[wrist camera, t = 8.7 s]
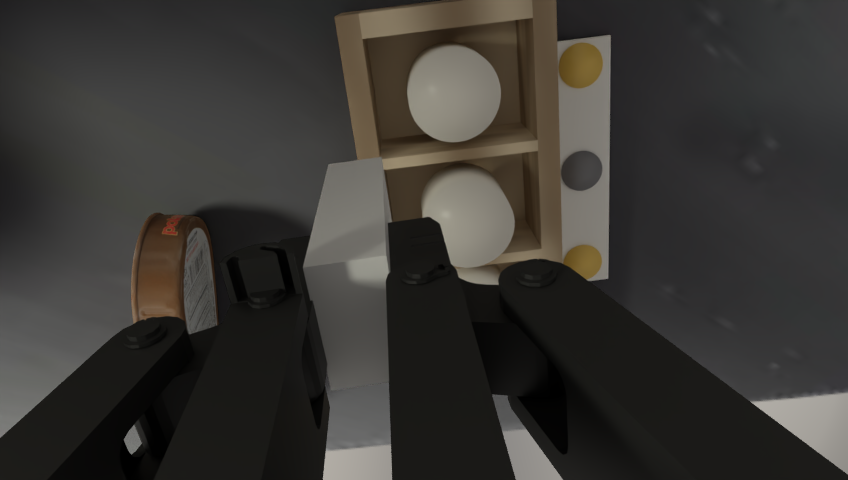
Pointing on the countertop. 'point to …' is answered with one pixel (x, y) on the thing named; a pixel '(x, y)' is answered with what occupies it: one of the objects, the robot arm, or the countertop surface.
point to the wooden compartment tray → (493, 148)
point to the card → (585, 153)
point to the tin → (175, 272)
